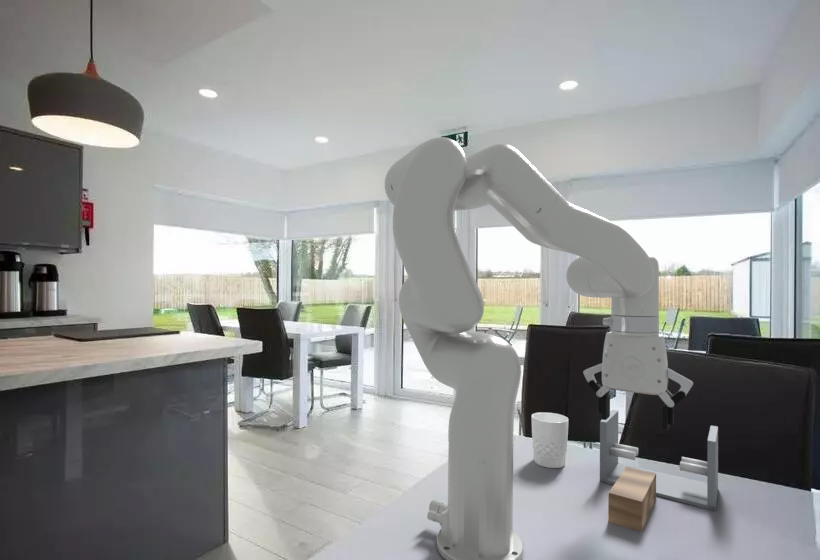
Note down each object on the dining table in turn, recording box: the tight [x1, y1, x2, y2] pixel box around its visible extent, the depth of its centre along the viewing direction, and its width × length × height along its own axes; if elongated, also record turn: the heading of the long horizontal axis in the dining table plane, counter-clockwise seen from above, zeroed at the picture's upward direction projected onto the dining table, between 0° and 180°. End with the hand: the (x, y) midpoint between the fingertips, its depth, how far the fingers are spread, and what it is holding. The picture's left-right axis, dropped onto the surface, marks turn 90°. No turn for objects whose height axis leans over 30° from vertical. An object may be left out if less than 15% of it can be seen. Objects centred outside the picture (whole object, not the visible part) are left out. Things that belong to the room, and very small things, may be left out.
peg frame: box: [599, 409, 719, 511], centre depth 88 cm, size 19×11×12 cm, turn 54°
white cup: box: [531, 411, 569, 469], centre depth 99 cm, size 8×8×10 cm
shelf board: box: [607, 467, 657, 532], centre depth 78 cm, size 14×5×5 cm, turn 143°
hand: (635, 423), depth 79 cm, fingers open, 9 cm apart
